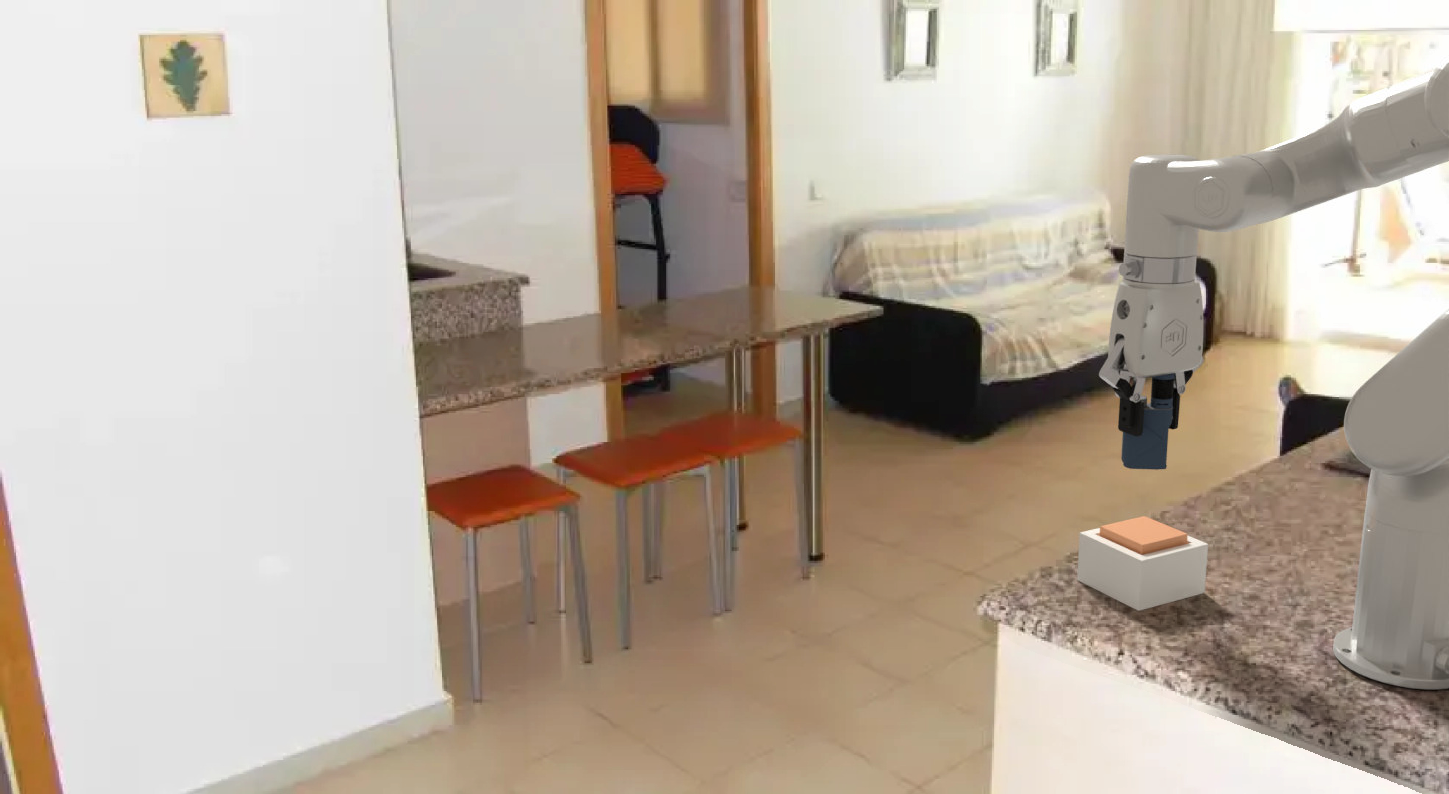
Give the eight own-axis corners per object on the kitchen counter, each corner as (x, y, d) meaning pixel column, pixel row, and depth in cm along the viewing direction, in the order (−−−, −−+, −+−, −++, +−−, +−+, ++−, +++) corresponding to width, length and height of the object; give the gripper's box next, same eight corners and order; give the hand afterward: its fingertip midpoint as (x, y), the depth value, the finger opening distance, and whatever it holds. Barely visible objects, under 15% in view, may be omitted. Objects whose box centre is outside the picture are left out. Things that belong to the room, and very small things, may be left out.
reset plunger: (1185, 558, 145) (1187, 533, 144) (1140, 570, 142) (1142, 545, 141) (1142, 539, 151) (1144, 516, 150) (1098, 550, 148) (1100, 526, 147)
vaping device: (1170, 470, 142) (1177, 367, 139) (1122, 469, 143) (1127, 366, 140) (1167, 463, 144) (1174, 361, 141) (1119, 461, 145) (1125, 361, 142)
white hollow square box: (1204, 592, 145) (1208, 544, 143) (1138, 611, 141) (1141, 560, 139) (1141, 563, 154) (1144, 517, 152) (1077, 580, 149) (1079, 532, 148)
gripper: (1124, 282, 131) (1113, 450, 136) (1242, 267, 138) (1228, 427, 143) (1075, 272, 137) (1066, 432, 142) (1190, 258, 145) (1178, 411, 149)
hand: (1147, 428), depth 142 cm, fingers closed on vaping device, 4 cm apart
